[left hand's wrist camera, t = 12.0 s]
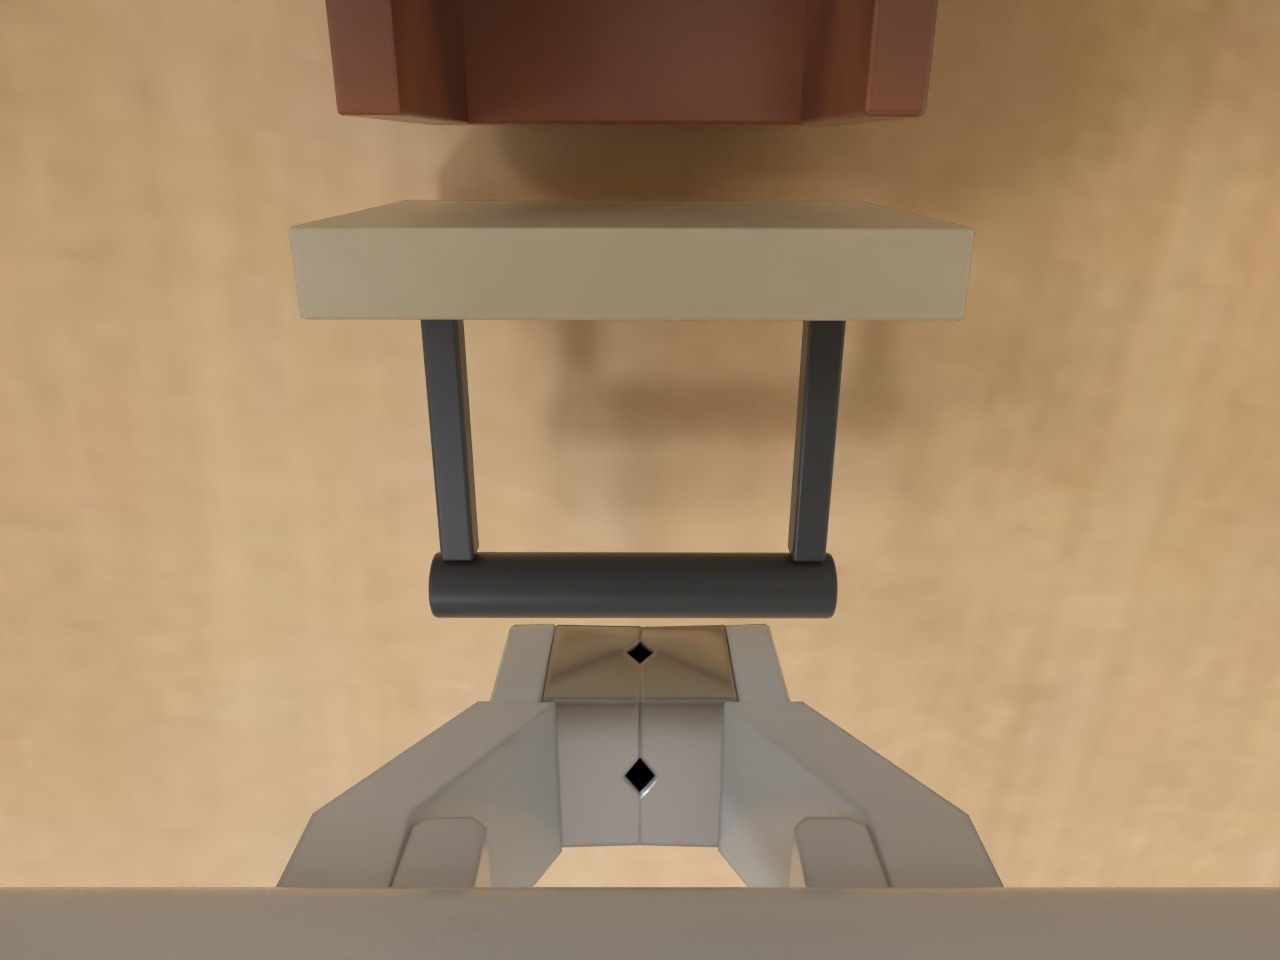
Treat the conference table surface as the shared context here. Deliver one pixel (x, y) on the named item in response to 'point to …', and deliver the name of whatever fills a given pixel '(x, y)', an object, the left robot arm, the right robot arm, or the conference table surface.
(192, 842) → the conference table surface
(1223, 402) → the conference table surface
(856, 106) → the drawer
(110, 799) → the conference table surface
